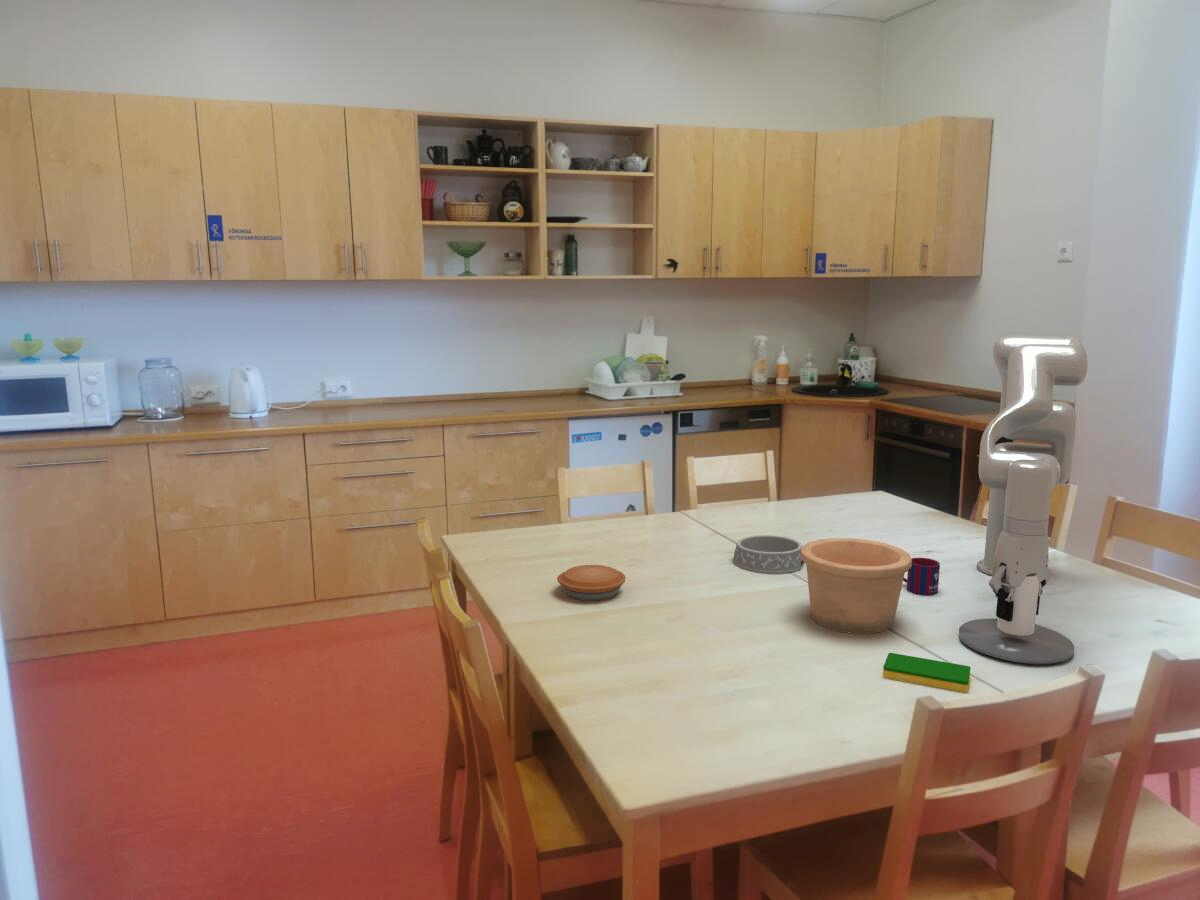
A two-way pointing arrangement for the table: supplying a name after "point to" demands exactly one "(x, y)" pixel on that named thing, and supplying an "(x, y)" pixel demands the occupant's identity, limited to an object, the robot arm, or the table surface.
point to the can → (1022, 609)
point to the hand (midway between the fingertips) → (1017, 615)
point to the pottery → (854, 583)
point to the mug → (923, 576)
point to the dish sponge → (927, 672)
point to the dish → (1016, 643)
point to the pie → (591, 582)
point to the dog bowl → (768, 554)
